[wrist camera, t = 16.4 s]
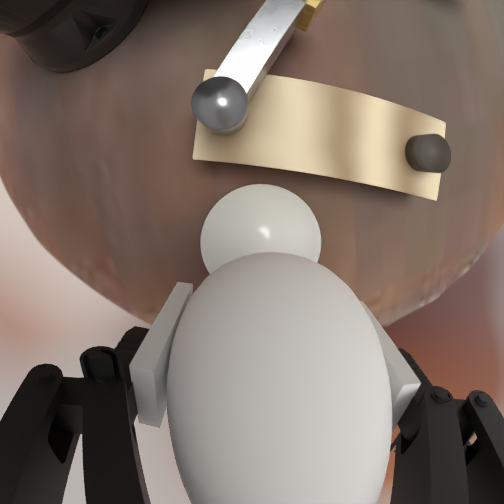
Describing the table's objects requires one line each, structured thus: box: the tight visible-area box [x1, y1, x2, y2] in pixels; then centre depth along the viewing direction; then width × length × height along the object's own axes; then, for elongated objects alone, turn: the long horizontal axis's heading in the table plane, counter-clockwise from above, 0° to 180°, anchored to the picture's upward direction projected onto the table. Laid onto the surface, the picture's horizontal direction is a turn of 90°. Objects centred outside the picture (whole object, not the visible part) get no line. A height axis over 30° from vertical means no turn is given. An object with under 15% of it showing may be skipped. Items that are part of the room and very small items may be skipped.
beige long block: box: [193, 69, 451, 201], centre depth 21 cm, size 20×7×8 cm, turn 83°
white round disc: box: [200, 184, 321, 274], centre depth 27 cm, size 11×11×1 cm
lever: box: [191, 0, 325, 135], centre depth 16 cm, size 14×4×4 cm, turn 152°
